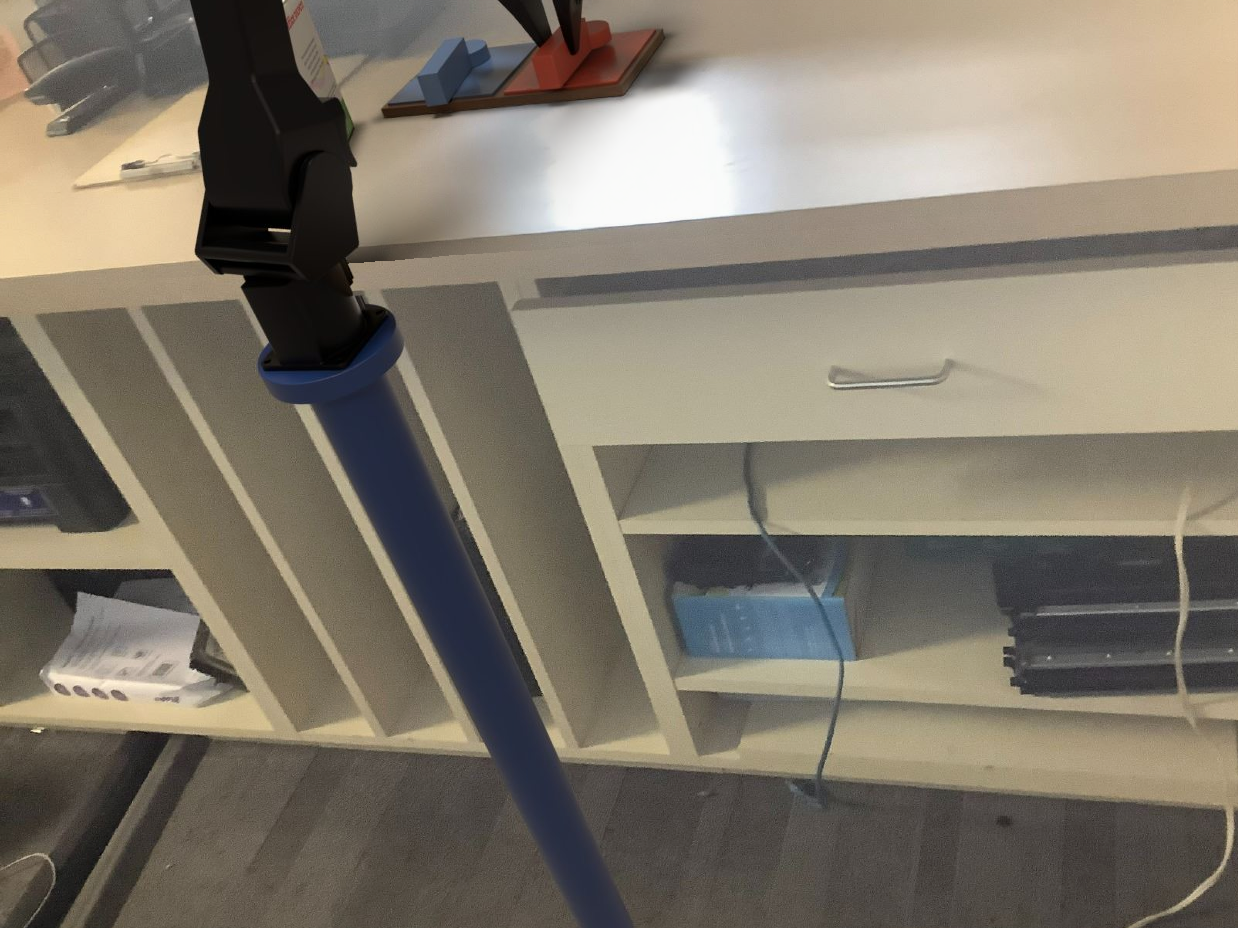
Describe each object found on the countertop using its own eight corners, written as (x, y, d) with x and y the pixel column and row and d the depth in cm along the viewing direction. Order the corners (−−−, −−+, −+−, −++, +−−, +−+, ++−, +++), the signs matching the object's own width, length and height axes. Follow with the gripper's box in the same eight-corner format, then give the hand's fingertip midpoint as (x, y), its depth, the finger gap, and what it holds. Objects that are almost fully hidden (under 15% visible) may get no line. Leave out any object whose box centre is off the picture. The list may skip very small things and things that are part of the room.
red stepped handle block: (573, 86, 90) (564, 53, 88) (527, 91, 91) (518, 58, 89) (617, 31, 97) (610, 0, 96) (575, 36, 99) (567, 5, 97)
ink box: (301, 138, 97) (238, -5, 90) (356, 125, 97) (298, -20, 89) (280, 180, 91) (211, 30, 83) (340, 167, 90) (275, 14, 83)
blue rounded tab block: (460, 102, 93) (449, 70, 92) (415, 108, 94) (403, 77, 93) (495, 49, 102) (486, 20, 100) (453, 56, 103) (444, 27, 101)
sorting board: (623, 95, 90) (620, 82, 89) (383, 117, 97) (379, 106, 96) (665, 37, 98) (662, 25, 98) (441, 61, 105) (437, 51, 105)
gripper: (658, -212, 85) (698, 5, 95) (438, -171, 91) (498, 29, 101) (612, -174, 77) (661, 58, 87) (375, -132, 83) (446, 80, 93)
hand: (563, 54), depth 92 cm, fingers closed on red stepped handle block, 2 cm apart
